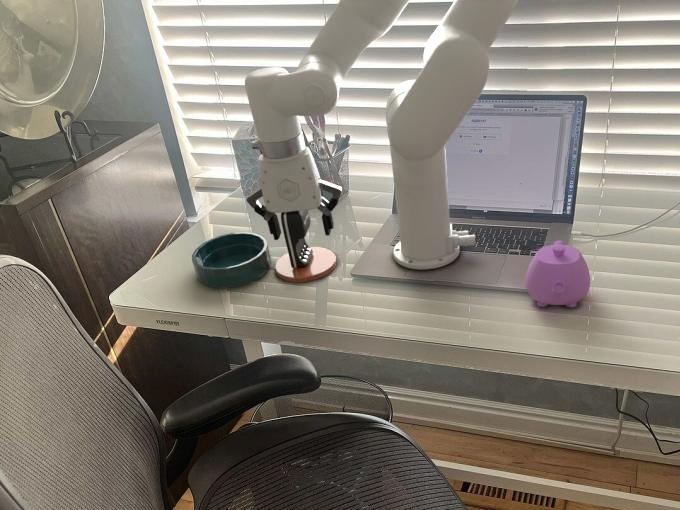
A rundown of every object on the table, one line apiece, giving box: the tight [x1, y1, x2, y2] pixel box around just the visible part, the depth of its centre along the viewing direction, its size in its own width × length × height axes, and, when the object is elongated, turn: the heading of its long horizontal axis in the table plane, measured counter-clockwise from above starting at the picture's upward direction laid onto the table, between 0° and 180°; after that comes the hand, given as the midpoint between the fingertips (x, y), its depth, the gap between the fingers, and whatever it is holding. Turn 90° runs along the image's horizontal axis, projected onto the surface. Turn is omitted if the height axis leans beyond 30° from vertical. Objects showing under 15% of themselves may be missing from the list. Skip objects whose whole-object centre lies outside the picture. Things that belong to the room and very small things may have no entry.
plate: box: [274, 246, 337, 283], centre depth 131 cm, size 12×12×1 cm
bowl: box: [191, 231, 273, 288], centre depth 131 cm, size 14×14×4 cm
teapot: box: [524, 240, 591, 308], centre depth 111 cm, size 10×15×9 cm
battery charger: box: [280, 210, 313, 268], centre depth 128 cm, size 7×4×11 cm, turn 175°
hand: (303, 234), depth 127 cm, fingers open, 9 cm apart
